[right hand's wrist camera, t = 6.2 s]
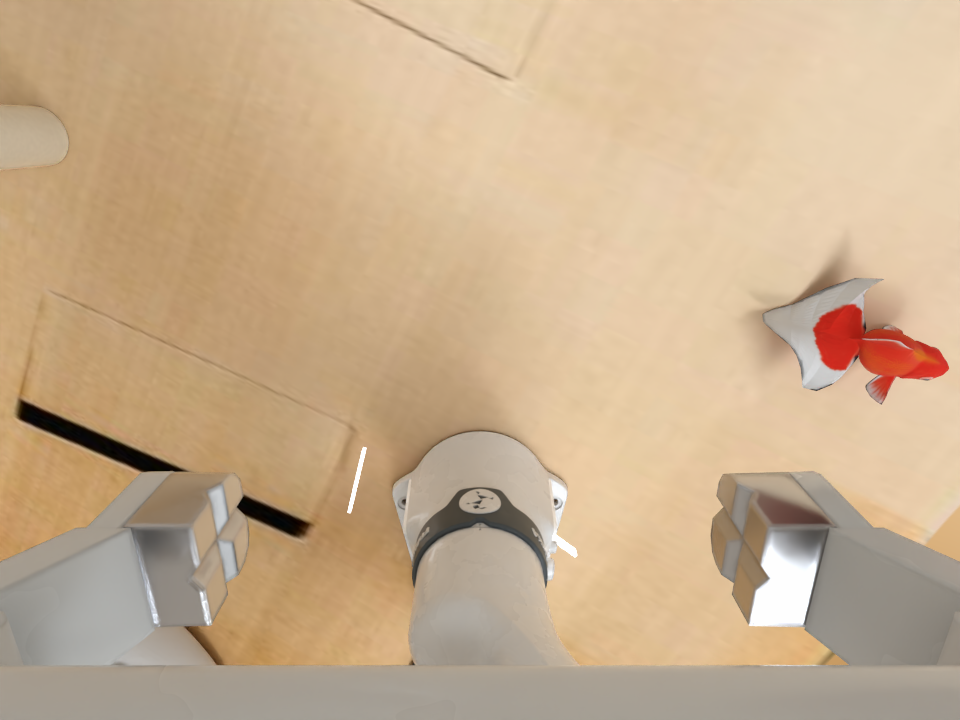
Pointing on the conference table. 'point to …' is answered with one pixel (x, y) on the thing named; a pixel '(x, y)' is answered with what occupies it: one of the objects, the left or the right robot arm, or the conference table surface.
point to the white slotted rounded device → (167, 649)
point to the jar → (30, 137)
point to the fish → (850, 341)
